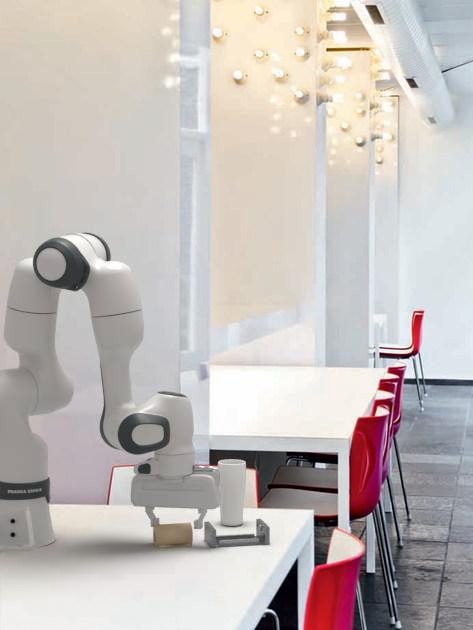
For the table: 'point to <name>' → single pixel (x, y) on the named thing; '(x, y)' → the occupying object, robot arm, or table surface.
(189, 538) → the roll
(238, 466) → the drinking glass
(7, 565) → the table surface
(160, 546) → the chock
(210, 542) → the holder
